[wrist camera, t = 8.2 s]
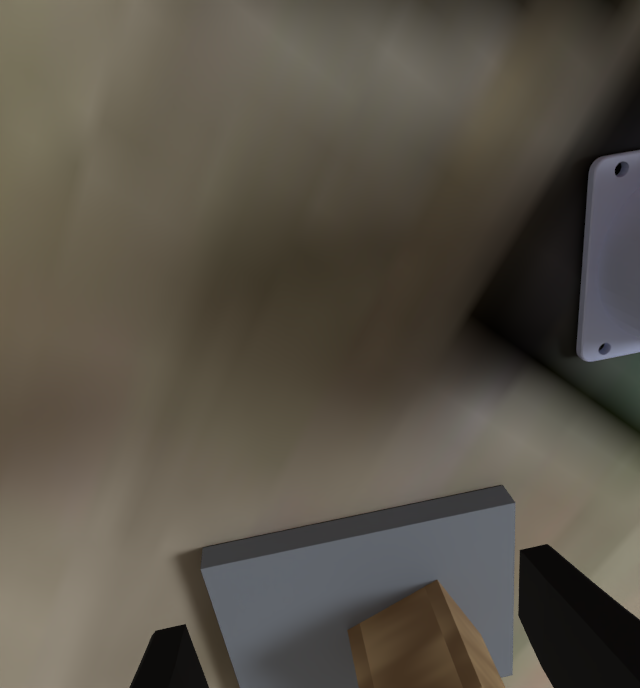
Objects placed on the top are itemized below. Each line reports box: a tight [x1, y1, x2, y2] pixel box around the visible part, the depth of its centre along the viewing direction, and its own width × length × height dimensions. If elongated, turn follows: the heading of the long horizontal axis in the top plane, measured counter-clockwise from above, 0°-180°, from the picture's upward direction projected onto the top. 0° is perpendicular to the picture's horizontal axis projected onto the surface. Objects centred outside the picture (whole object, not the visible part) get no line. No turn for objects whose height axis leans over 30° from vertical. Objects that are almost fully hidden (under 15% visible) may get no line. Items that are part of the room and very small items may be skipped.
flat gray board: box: [201, 485, 515, 688], centre depth 25 cm, size 14×12×1 cm
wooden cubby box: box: [347, 580, 505, 688], centre depth 23 cm, size 5×5×5 cm
